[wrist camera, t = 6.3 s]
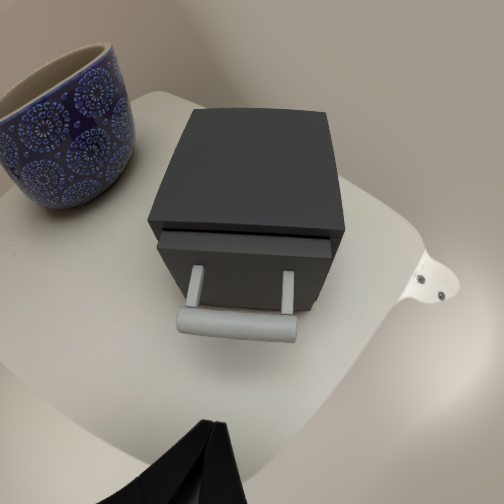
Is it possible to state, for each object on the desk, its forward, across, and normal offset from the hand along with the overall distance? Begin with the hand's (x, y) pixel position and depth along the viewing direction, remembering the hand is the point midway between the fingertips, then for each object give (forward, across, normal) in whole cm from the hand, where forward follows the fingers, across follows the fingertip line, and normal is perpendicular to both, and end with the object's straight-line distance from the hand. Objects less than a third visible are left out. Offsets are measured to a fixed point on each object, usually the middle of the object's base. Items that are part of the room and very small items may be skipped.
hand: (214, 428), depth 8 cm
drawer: (+15, 0, -1) cm, 15 cm away
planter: (+24, +22, -9) cm, 34 cm away
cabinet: (+18, 0, -3) cm, 19 cm away
